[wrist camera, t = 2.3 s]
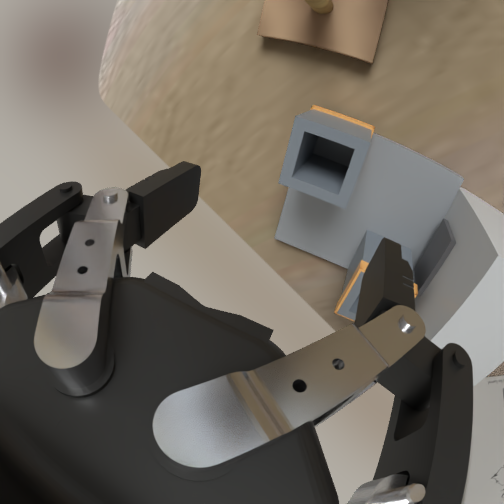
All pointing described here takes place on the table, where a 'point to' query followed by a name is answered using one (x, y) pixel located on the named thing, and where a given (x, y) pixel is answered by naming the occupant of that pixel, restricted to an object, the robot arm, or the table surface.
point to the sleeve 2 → (356, 271)
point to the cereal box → (486, 444)
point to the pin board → (326, 24)
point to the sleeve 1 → (319, 168)
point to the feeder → (416, 241)
